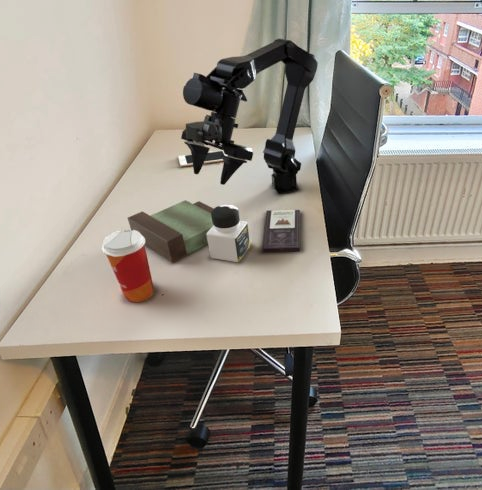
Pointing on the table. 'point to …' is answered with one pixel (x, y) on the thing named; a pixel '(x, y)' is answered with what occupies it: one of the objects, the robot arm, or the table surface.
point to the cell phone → (211, 157)
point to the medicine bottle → (227, 234)
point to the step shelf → (175, 229)
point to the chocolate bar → (282, 231)
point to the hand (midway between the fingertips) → (208, 179)
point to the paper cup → (129, 264)
